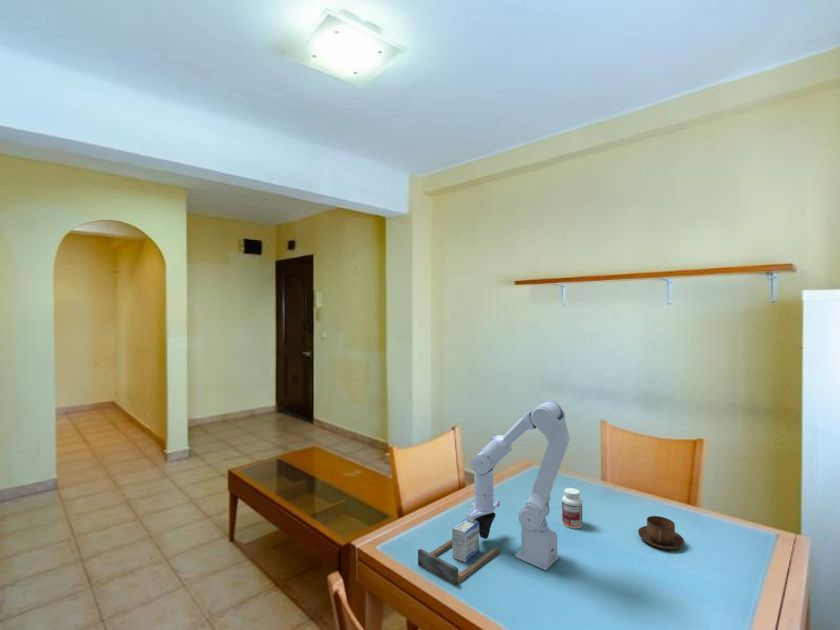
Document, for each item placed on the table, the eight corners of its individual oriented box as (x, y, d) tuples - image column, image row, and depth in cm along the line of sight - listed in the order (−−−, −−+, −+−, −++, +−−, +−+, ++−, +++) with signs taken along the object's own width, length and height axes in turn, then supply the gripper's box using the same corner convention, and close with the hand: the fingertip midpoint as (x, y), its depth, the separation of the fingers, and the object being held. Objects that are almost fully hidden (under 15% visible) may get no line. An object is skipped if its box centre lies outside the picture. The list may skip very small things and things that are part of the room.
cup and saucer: (691, 555, 122) (691, 533, 122) (645, 550, 125) (645, 529, 125) (674, 533, 134) (674, 514, 134) (633, 530, 137) (633, 510, 136)
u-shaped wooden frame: (499, 552, 124) (499, 539, 124) (456, 585, 109) (455, 569, 109) (462, 536, 133) (462, 523, 133) (417, 564, 118) (417, 550, 118)
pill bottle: (568, 517, 144) (568, 485, 144) (586, 525, 140) (586, 491, 139) (558, 523, 140) (558, 490, 140) (575, 531, 136) (575, 496, 135)
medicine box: (465, 563, 119) (465, 532, 119) (451, 558, 121) (451, 527, 121) (479, 550, 125) (479, 521, 125) (466, 545, 128) (466, 516, 128)
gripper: (486, 481, 138) (486, 523, 138) (458, 495, 127) (458, 541, 127) (505, 487, 133) (505, 531, 133) (478, 503, 122) (478, 550, 122)
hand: (484, 537), depth 130 cm, fingers closed
